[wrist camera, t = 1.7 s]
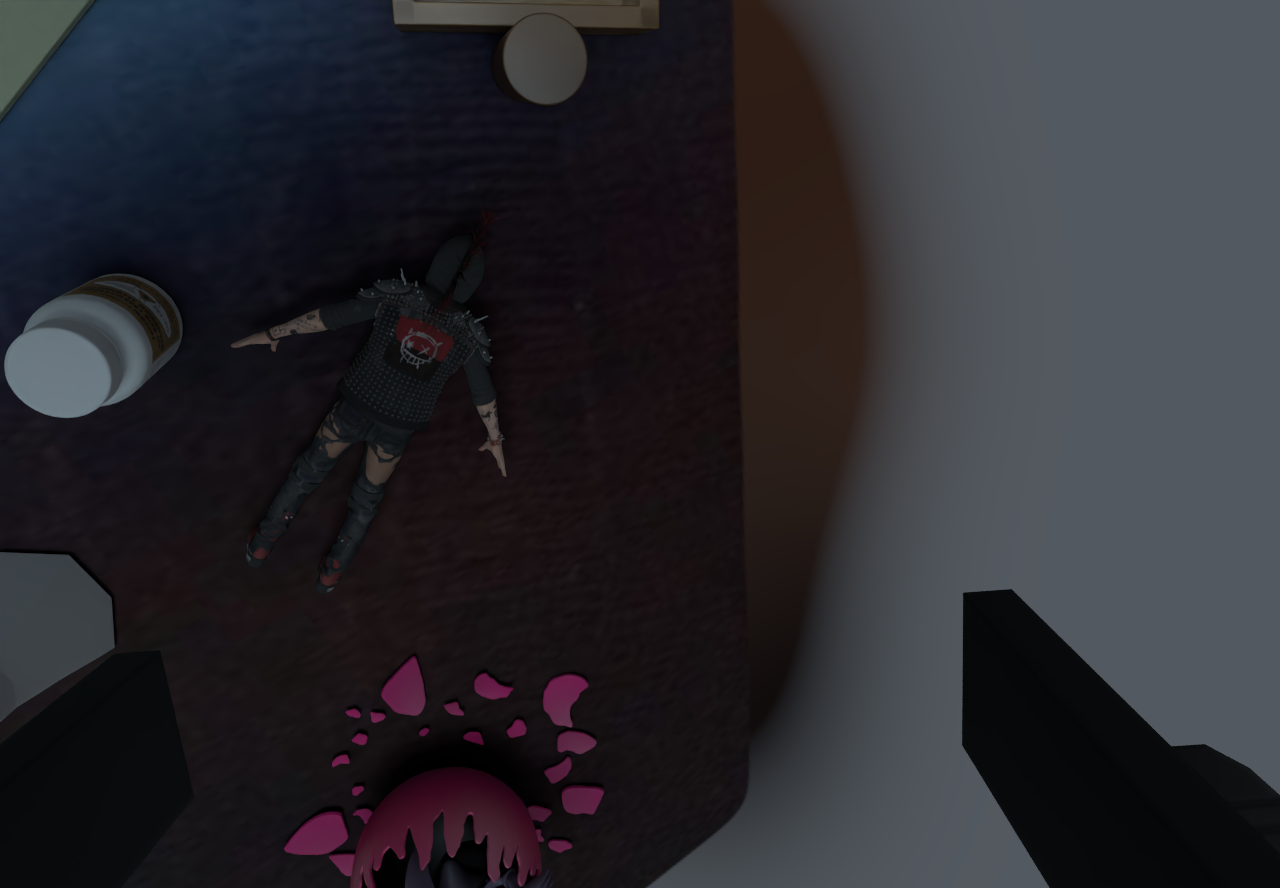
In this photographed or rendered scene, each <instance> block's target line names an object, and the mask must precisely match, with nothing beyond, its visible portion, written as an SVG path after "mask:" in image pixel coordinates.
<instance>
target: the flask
mask: <svg viewBox="0 0 1280 888" xmlns="http://www.w3.org/2000/svg"><path fill="white" fill-rule="evenodd" d="M114 647H115V646H114V629H113V612H112V598H111V597H110V596H109V595H108V594H107V593H106V592H105V591H104V590H103V589H102V588H101V587H100V586H99V585H98V584H97V583H96V582H95V581H94V580H93V579H92V578H91V577H90V576H89V575H88V574H87V573H86V572H85V571H84V570H83V569H82V568H81V567H80V566H79V565H78V564H77V563H76V562H75V561H74V560H73V559H72V558H71V557H70V556H69V555H56V554H31V553H7V552H0V722H1V721H2V720H3V719H4V718H5V717H6V716H8V715H9V714H10V713H11V712H12V711H13V710H14V709H15V708H17V707H18V706H20V705H21V704H23V703H25V702H26V701H28V700H29V699H31V698H32V697H34V696H36V695H37V694H39V693H40V692H42V691H43V690H45V689H47V688H48V687H50V686H51V685H53V684H54V683H56V682H58V681H59V680H61V679H62V678H64V677H66V676H67V675H69V674H71V673H73V672H74V671H76V670H78V669H79V668H81V667H83V666H85V665H86V664H88V663H90V662H92V661H93V660H95V659H97V658H98V657H100V656H102V655H103V654H105V653H107V652H108V651H110V650H111V649H113V648H114Z"/></svg>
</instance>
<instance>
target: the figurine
mask: <svg viewBox="0 0 1280 888" xmlns="http://www.w3.org/2000/svg"><path fill="white" fill-rule="evenodd" d="M488 210H489V209H488ZM487 212H488V211H487ZM487 212H486V215H487V216H486V215H485V217H484V216H483V213H484V205H483V207H482V214H481V218H480V215H479V220H480V221H479V222H478V224H477V219H476V224H475V229H474V228H473V230H472V229H471V228H470V229H471V230H472V233H470V236H469V235H462V236H456V237H454V238H452V239H450V240H448V241H447V242H446V243H444V244H443V245H441V246H440V250H439V251H438V253H437V254H436V256H435V258H434V260H433V262H432V265H431V267H430V269H429V271H428V273H427V276H426V280H425V284H426V285H424V284H420V285H418V286H417V284H418V283H417V281H416V282H415V285H413V283H411V284H410V283H409V282H407V281H406V278H405V279H404V275H403V272H402V268H401V273H402V274H401V277H402V280H398V279H397V280H395V279H394V278H393V279H392V280H382V281H380V280H379V279H378V281H377V282H374V284H373V286H374V287H373V288H369V289H366V290H363V289H362V288H361V291H360V292H357V293H358V294H357V295H356V297H357V298H358V299H355V298H354V299H350V300H348V301H342V302H341V303H340V302H337V303H334V304H333V303H332V304H327V305H323V306H322V308H320V309H317V310H314V311H311V312H309V313H307V314H304V315H302V316H300V317H298V318H296V319H293V320H291V321H289V322H287V323H285V324H282V325H278V326H275V327H273V326H271V327H268V328H267V329H266V330H265V331H263V332H260V333H256V334H253V335H252V336H250V337H247V338H244V339H242V340H240V341H237V342H235V343H233V344H231V347H233V348H239V347H241V346H244V345H248V344H268V343H270V344H271V349H272V351H276V347H277V344H278V342H279V339H280V338H281V337H282V336H286V335H291V334H298V333H311V332H319V331H324V330H327V329H330V330H332V331H336V330H337V328H343V327H344V326H345V325H352V324H354V323H359V322H362V321H366V320H369V319H373V318H376V322H375V323H374V330H373V332H372V334H371V338H369V339H368V340H369V341H368V342H367V343H366V345H365V346H364V349H362V351H361V353H359V354H358V356H357V357H355V360H354V361H353V363H352V364H351V365H350V368H348V371H347V372H346V374H345V375H344V376H343V377H342V378H341V380H340V381H339V383H338V384H337V387H338V389H339V390H340V391H341V393H342V394H341V396H340V398H339V400H338V401H337V403H336V404H335V405H334V406H333V407H332V409H331V411H330V412H329V414H328V415H327V417H326V418H325V420H324V421H323V423H322V425H321V427H320V428H319V430H318V432H317V434H316V436H315V439H314V441H313V443H312V445H311V446H310V448H308V449H307V450H306V452H304V453H302V454H301V455H300V456H299V457H298V458H297V460H296V461H295V462H294V464H293V466H292V469H291V471H290V474H288V476H289V477H288V480H287V481H286V482H285V483H284V484H283V485H282V487H281V488H280V490H279V492H278V494H277V495H276V497H275V498H274V500H273V502H272V504H271V506H270V508H269V510H268V512H267V515H266V518H265V519H263V520H262V521H261V522H260V524H259V526H258V527H256V528H255V529H253V530H252V531H251V533H250V534H249V536H248V537H247V540H246V545H247V553H246V560H247V562H248V564H249V565H250V566H252V567H257V568H258V567H260V566H261V565H262V564H263V563H264V561H265V560H266V558H267V555H268V554H269V553H270V552H271V551H272V549H273V548H274V546H275V542H276V541H277V540H278V538H279V536H280V535H282V534H283V533H285V532H286V531H287V530H288V526H289V523H290V522H291V521H292V520H293V518H294V517H295V516H296V515H297V514H298V511H299V508H300V506H301V504H302V502H303V500H304V499H305V498H306V497H307V496H308V494H309V493H310V492H311V491H312V490H315V489H316V488H317V487H318V486H319V485H320V483H321V481H322V480H323V478H325V477H326V476H327V474H328V473H329V471H330V470H331V469H332V467H333V466H334V465H335V464H336V463H337V461H338V460H339V459H340V458H341V457H342V456H343V455H344V454H345V453H346V451H347V450H348V449H349V448H351V447H352V446H353V445H354V443H357V442H359V441H365V440H366V444H365V449H364V455H363V460H362V463H361V467H360V471H359V473H358V474H357V476H356V478H355V481H354V484H353V487H352V490H351V492H350V496H349V498H348V507H349V512H348V516H347V518H346V519H345V522H344V525H343V527H342V528H341V530H340V533H339V536H338V540H336V541H335V542H334V543H333V545H332V548H331V551H330V553H329V554H328V555H327V556H325V557H324V559H322V561H321V562H320V564H319V565H318V568H317V570H318V572H319V577H318V579H317V581H316V584H315V589H316V590H317V591H318V592H320V593H323V594H325V593H328V592H330V591H331V590H332V589H333V587H334V586H335V584H336V583H337V582H338V581H339V580H340V578H341V577H342V575H343V573H344V570H345V569H346V568H347V567H348V565H349V563H350V561H351V560H352V558H353V557H354V555H355V553H356V551H357V550H358V548H359V546H360V544H361V543H362V542H363V540H364V538H365V535H366V533H367V531H368V528H369V525H370V523H371V520H372V519H373V517H374V515H375V514H376V513H377V507H378V506H379V504H380V502H381V501H382V498H383V495H384V489H385V486H386V483H387V481H388V478H389V476H390V475H391V473H392V472H393V470H394V469H395V467H396V465H397V464H398V461H399V460H400V458H401V456H402V454H403V451H404V449H405V447H406V445H407V443H408V442H409V440H410V437H411V434H412V433H413V432H414V430H423V429H425V428H426V426H427V424H428V422H429V419H430V416H431V415H432V413H431V412H433V408H434V407H435V403H436V402H437V400H436V399H437V398H438V397H439V393H441V389H442V388H443V385H444V384H445V381H447V380H448V378H449V377H450V376H451V375H452V373H454V372H455V371H456V370H457V369H458V368H459V367H460V366H461V365H462V364H463V367H464V370H465V372H466V377H467V379H468V385H469V387H470V390H471V392H472V393H471V397H472V402H473V404H474V405H476V406H477V409H478V411H479V414H480V416H481V418H482V420H483V422H484V423H485V425H486V427H487V429H488V432H489V434H488V435H489V437H488V438H487V440H488V441H487V442H486V443H485V444H484V445H483V446H481V447H480V448H479V450H480V451H483V450H485V449H489V450H491V451H492V453H493V455H494V456H495V458H496V459H497V463H498V466H499V468H501V470H502V474H503V476H506V470H505V463H504V456H503V451H502V445H501V444H502V440H503V439H504V438H502V437H503V435H502V434H501V432H499V427H498V415H497V406H496V400H495V398H496V397H497V393H496V390H495V386H493V383H492V382H491V378H490V375H489V372H488V370H487V366H489V365H490V362H491V360H490V359H491V358H493V357H490V356H489V353H488V349H487V347H490V346H491V344H490V340H491V339H488V336H487V334H486V332H485V330H484V327H483V326H482V325H481V324H480V323H479V321H480V320H482V319H484V318H486V317H488V316H485V317H482V318H479V319H475V318H474V317H473V316H472V314H470V315H469V312H470V310H468V311H467V309H466V308H465V306H464V305H463V304H462V303H464V302H465V301H467V300H468V299H469V298H470V297H471V295H472V294H473V292H474V291H475V290H476V288H477V287H478V285H479V284H480V283H481V281H482V278H483V275H484V268H485V259H484V254H483V252H485V251H483V250H484V249H481V246H482V243H483V245H485V243H487V242H482V241H483V240H485V239H486V238H484V239H482V240H481V238H482V237H483V236H484V235H485V233H486V232H485V231H486V230H487V229H486V228H487V227H488V229H489V225H490V223H492V222H493V220H496V219H499V218H496V219H494V218H495V217H496V216H494V218H492V215H491V213H492V212H490V213H489V214H488V213H487ZM494 214H495V213H494ZM490 215H491V216H490ZM483 218H484V219H483ZM490 218H491V219H492V220H490ZM491 221H492V222H491ZM476 225H477V226H476ZM467 229H469V228H467ZM470 229H469V231H470V232H471V230H470ZM484 232H485V233H484ZM487 232H488V231H487ZM483 233H484V234H483ZM482 234H483V235H482ZM481 235H482V236H481ZM487 238H488V237H487ZM480 240H481V241H480ZM489 242H490V241H489ZM486 365H487V366H486Z"/></svg>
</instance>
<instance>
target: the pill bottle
mask: <svg viewBox="0 0 1280 888" xmlns="http://www.w3.org/2000/svg"><path fill="white" fill-rule="evenodd" d="M182 333H183V325H182V319H181V315H180V313H179V310H178V308H177V306H176V304H175V303H174V301H173V300H172V298H171V297H170V296H169V295H168V294H167V293H166V292H165V291H164V290H162V289H161V288H160V287H158V286H157V285H156V284H154V283H152V282H150V281H148V280H146V279H144V278H141V277H138V276H135V275H130V274H109V275H104V276H101V277H98V278H95V279H93V280H91V281H89V282H87V283H85V284H83V285H81V286H79V287H77V288H75V289H73V290H71V291H69V292H67V293H65V294H63V295H61V296H59V297H58V298H56V299H54V300H52V301H50V302H48V303H47V304H45V305H43V306H42V307H41V308H39V309H38V310H37V311H36V312H35V313H34V314H33V315H32V316H31V318H30V319H29V320H28V322H27V324H26V326H25V329H24V332H23V334H21V335H20V336H19V337H18V338H16V339H15V341H14V342H13V343H12V344H11V346H10V347H9V349H8V351H7V353H6V357H5V363H4V367H5V375H6V378H7V381H8V383H9V385H10V387H11V389H12V390H13V391H14V393H15V394H16V395H17V396H18V397H19V398H20V399H21V400H22V401H23V402H24V403H25V404H27V405H28V406H30V407H31V408H33V409H35V410H36V411H38V412H41V413H43V414H46V415H50V416H54V417H62V418H72V417H79V416H83V415H86V414H88V413H90V412H92V411H94V410H96V409H97V408H99V407H100V406H106V405H111V404H114V403H117V402H120V401H122V400H124V399H125V398H127V397H129V396H130V395H132V394H133V393H134V392H135V391H136V390H138V389H139V388H140V387H141V386H142V385H143V384H144V383H145V382H146V381H147V380H148V379H149V378H150V377H152V376H153V375H154V374H155V373H156V372H157V371H158V370H159V369H160V368H161V367H162V366H163V365H165V364H166V363H167V362H168V361H169V360H170V359H171V358H172V357H173V355H174V354H175V353H176V351H177V350H178V348H179V345H180V343H181V339H182Z"/></svg>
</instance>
